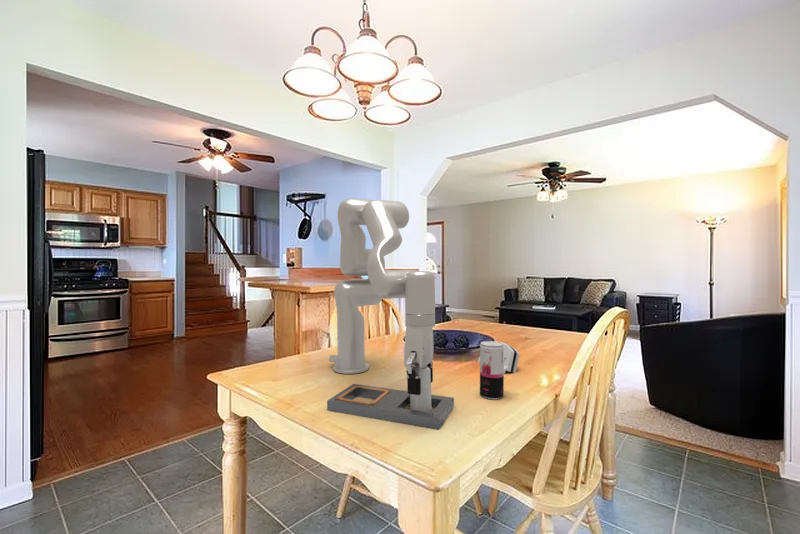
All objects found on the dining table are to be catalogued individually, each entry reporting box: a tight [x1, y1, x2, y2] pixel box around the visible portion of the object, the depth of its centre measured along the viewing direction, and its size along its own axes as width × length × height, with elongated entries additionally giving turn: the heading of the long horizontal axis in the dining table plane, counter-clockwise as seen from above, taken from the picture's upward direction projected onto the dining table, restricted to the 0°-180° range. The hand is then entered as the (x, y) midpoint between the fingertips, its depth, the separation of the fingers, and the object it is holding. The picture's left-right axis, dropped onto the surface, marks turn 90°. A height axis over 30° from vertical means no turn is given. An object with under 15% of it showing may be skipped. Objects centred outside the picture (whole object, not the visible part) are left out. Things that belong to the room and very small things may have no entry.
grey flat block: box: [326, 383, 455, 430], centre depth 99 cm, size 30×14×3 cm, turn 68°
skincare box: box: [409, 364, 433, 413], centre depth 96 cm, size 6×4×12 cm
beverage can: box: [479, 340, 505, 400], centre depth 108 cm, size 6×6×15 cm
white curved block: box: [477, 341, 520, 375], centre depth 137 cm, size 17×5×10 cm, turn 21°
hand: (420, 387), depth 96 cm, fingers open, 9 cm apart
